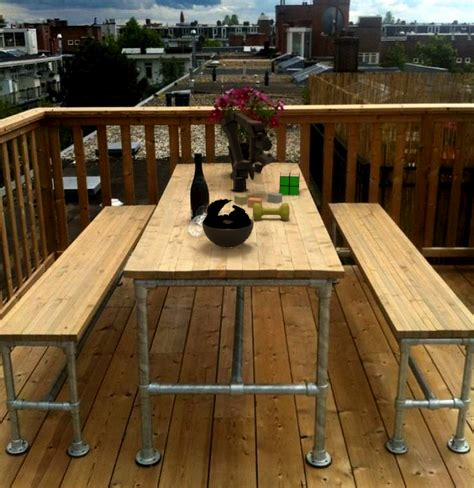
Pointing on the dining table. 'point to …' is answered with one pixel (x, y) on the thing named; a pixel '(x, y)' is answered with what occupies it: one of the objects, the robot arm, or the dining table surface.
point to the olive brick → (240, 199)
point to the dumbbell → (271, 211)
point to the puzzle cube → (289, 183)
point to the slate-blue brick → (274, 197)
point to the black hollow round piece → (227, 225)
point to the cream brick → (256, 177)
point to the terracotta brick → (254, 200)
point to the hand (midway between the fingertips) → (255, 179)
